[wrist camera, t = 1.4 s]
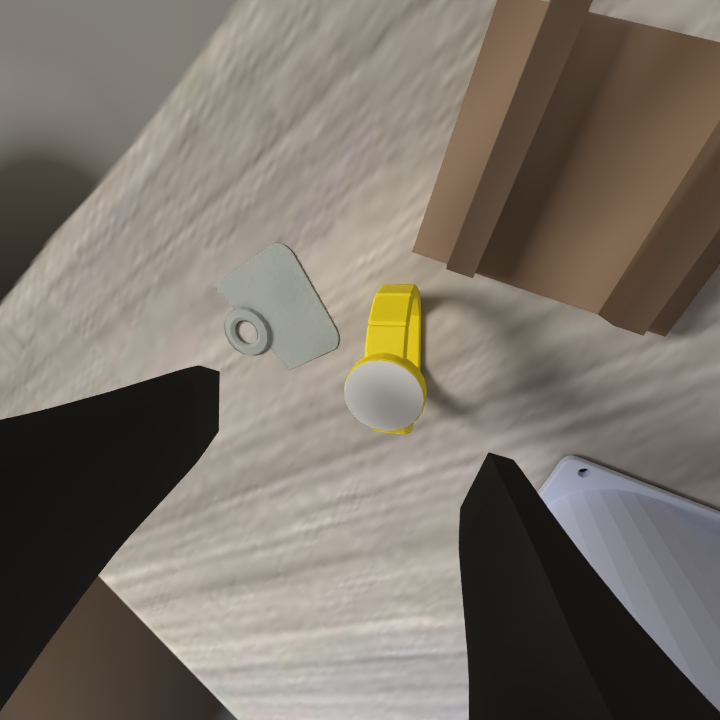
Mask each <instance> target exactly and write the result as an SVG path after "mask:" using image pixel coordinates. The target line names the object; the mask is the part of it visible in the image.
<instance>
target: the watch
mask: <svg viewBox="0 0 720 720" xmlns="http://www.w3.org/2000/svg"><path fill="white" fill-rule="evenodd" d="M368 324H369V326H368V327H367V337H366V348H365V357H363V358H361V359H360V360H359V361H358V362H357V363H356V364H355V365H354V366H353V368H352V369H351V371H350V372H349V374H348V376H347V379H346V381H345V387H344V396H345V400H346V404H347V406H348V408H349V409H350V411H351V413H352V414H353V415H354V416H355V417H356V418H357V419H358V420H359V421H360V422H362V423H363V424H365V425H367V426H369V427H371V428H372V429H373V430H374V431H377V432H387V433H396V434H408V433H410V432H411V430H412V428H413V424H414V422H415V421H416V420H417V419H418V418H419V416H420V415H421V413H422V412H423V409H424V405H425V400H426V394H427V389H426V383H425V379H424V377H423V375H422V373H421V372H420V365H421V362H420V355H421V300H420V292H419V290H418V288H417V286H416V285H415V284H395V285H383V286H382V287H381V288H380V289H379V291H378V292H377V293H376V295H375V297H374V300H373V304H372V308H371V312H370V317H369V321H368Z"/></svg>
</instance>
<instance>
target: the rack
mask: <svg viewBox="0 0 720 720" xmlns="http://www.w3.org/2000/svg"><path fill="white" fill-rule="evenodd" d="M592 1H593V0H550V2H549V3H548V2H544V1H540V0H498V1H497V3H496V6H495V9H494V12H493V15H492V18H491V21H490V24H489V27H488V30H487V33H486V36H485V39H484V42H483V45H482V48H481V51H480V54H479V57H478V60H477V62H476V65H475V68H474V71H473V74H472V77H471V80H470V83H469V86H468V89H467V92H466V95H465V98H464V101H463V104H462V107H461V110H460V113H459V116H458V118H457V121H456V124H455V127H454V130H453V133H452V136H451V139H450V142H449V145H448V148H447V151H446V154H445V157H444V160H443V163H442V166H441V169H440V172H439V175H438V177H437V180H436V183H435V186H434V189H433V192H432V195H431V198H430V201H429V204H428V207H427V210H426V213H425V216H424V219H423V222H422V225H421V228H420V231H419V233H418V236H417V239H416V242H415V245H414V248H413V251H412V252H414V253H417V254H420V255H423V256H426V257H429V258H432V259H435V260H438V261H441V262H444V263H447V268H446V269H448V270H450V271H453V272H456V273H459V274H462V275H465V276H468V277H471V278H473V276H474V274H475V273H477V274H480V275H483V276H485V277H488V278H491V279H494V280H497V281H500V282H503V283H506V284H509V285H512V286H515V287H518V288H521V289H524V290H527V291H530V292H533V293H536V294H539V295H542V296H545V297H548V298H551V299H554V300H557V301H560V302H563V303H566V304H569V305H572V306H575V307H578V308H581V309H584V310H587V311H590V312H593V313H596V314H598V315H600V316H601V317H603V318H604V319H605V320H607V321H608V322H609V323H611V324H612V325H614V326H617V327H620V328H623V329H626V330H629V331H632V332H635V333H638V334H640V335H644V334H645V332H646V331H650V332H653V333H656V334H659V335H662V336H666V335H667V334H668V332H669V331H670V330H671V328H672V327H673V326H674V324H675V323H676V322H677V320H678V319H679V318H680V316H681V315H682V314H683V312H684V311H685V310H686V308H687V307H688V306H689V304H690V303H691V302H692V300H693V299H694V298H695V296H696V295H697V294H698V292H699V291H700V290H701V288H702V287H703V286H704V284H705V283H706V282H707V280H708V279H709V278H710V276H711V275H712V274H713V272H714V271H715V269H716V268H717V267H718V265H719V264H720V42H716V41H711V40H707V39H703V38H698V37H694V36H690V35H686V34H681V33H677V32H673V31H668V30H664V29H660V28H656V27H651V26H647V25H643V24H638V23H634V22H630V21H626V20H621V19H617V18H613V17H608V16H604V15H600V14H596V13H591V12H588V10H589V8H590V5H591V3H592Z"/></svg>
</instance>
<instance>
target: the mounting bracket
mask: <svg viewBox="0 0 720 720" xmlns="http://www.w3.org/2000/svg"><path fill="white" fill-rule="evenodd" d="M213 286H214V287H215V288H216V289H217V291H218V292H219V293H220V294H221V295H222V296H223V297H224V298H225V299H226V301H227V302H228V303H229V304H230V305H231V306H232V307H233V308H234V309H233V310H232V311H231V312H230V313H229V314H228V315H227V317H226V320H225V323H224V328H225V335H226V337H227V339H228V341H229V343H230V344H231V345H232V346H233V347H234V348H235V349H236V350H237V351H239V352H241V353H242V354H247V355H257V354H261V353H263V352H264V351H265V350H266V349H267V348H268V347H269V348H270V349H271V350H272V352H273V353H274V354H275V355H276V356H277V357H278V358H279V359H280V360H281V362H282V363H283V364H284V365H285V366H286V367H287V368H288V369H289V370H291V369H293V368H295V367H297V366H299V365H302V364H304V363H306V362H308V361H310V360H312V359H315V358H317V357H319V356H321V355H323V354H325V353H327V352H330V351H332V350H334V349H336V348H337V345H338V342H339V336H338V332H337V329H336V327H335V325H334V324H333V322H332V320H331V318H330V317H329V315H328V313H327V311H326V309H325V308H324V306H323V304H322V302H321V301H320V299H319V297H318V295H317V294H316V292H315V290H314V288H313V287H312V285H311V283H310V281H309V279H308V278H307V276H306V274H305V272H304V271H303V269H302V267H301V265H300V264H299V262H298V260H297V258H296V257H295V255H294V254H293V252H292V251H291V250H290V249H289V248H288V247H287V246H285V245H283V244H281V243H274V244H272V245H271V246H269V247H268V248H266V249H265V250H263V251H262V252H260V253H259V254H257V255H256V256H255V257H253V258H252V259H250V260H249V261H247V262H246V263H244V264H243V265H241V266H240V267H238V268H237V269H236V270H234V271H233V272H231V273H230V274H228V275H227V276H225V277H224V278H222V279H221V280H219V281H218V282H217V283H215V284H214V285H213ZM242 320H244V321H245V322H250V323H252V324H253V326H254V327H255V328H256V331H257V339H256V341H255V342H254V343H252V344H249V343H246V342H244V341H242V340H241V339H240V338H239V336H238V334H237V330H236V327H237V323H238V322H239V321H242Z"/></svg>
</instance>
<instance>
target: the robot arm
mask: <svg viewBox="0 0 720 720" xmlns="http://www.w3.org/2000/svg"><path fill="white" fill-rule="evenodd" d="M219 375H220V372H219V371H216V370H212V369H209V368H206V367H202V366H199V365H198V366H194V367H189V368H186V369H182V370H179V371H175V372H172V373H169V374H165V375H162V376H159V377H156V378H152V379H149V380H146V381H143V382H140V383H136V384H133V385H130V386H127V387H123V388H120V389H117V390H114V391H110V392H107V393H103V394H100V395H96V396H93V397H89V398H85V399H82V400H78V401H75V402H71V403H67V404H64V405H60V406H56V407H53V408H49V409H45V410H41V411H37V412H33V413H29V414H24V415H20V416H16V417H11V418H6V419H2V420H0V711H1V709H2V708H3V706H4V705H5V704H6V702H7V701H8V699H9V698H10V696H11V695H12V693H13V692H14V691H15V689H16V688H17V686H18V685H19V684H20V682H21V681H22V679H23V678H24V676H25V675H26V674H27V672H28V671H29V669H30V668H31V666H32V665H33V663H34V662H35V660H36V659H37V658H38V656H39V655H40V653H41V652H42V651H43V649H44V648H45V646H46V645H47V643H48V642H49V641H50V639H51V638H52V636H53V635H54V634H55V633H56V631H57V630H58V628H59V627H60V626H61V624H62V623H63V622H64V620H65V619H66V618H67V616H68V615H69V613H70V612H71V611H72V609H73V608H74V607H75V605H76V604H77V603H78V601H79V600H80V598H81V597H82V596H83V594H84V593H85V592H86V591H87V589H88V588H89V586H90V585H91V584H92V583H93V581H94V580H95V579H96V577H97V576H98V575H99V574H100V572H101V571H102V570H103V568H104V567H105V566H106V564H107V563H108V562H109V561H110V559H111V558H112V557H113V555H114V554H115V553H116V552H117V551H118V549H119V548H120V547H121V546H122V545H123V543H124V542H125V541H126V540H127V539H128V538H129V536H130V535H131V534H132V533H133V532H134V531H135V530H136V529H137V528H138V526H139V525H140V524H141V523H142V522H143V521H144V520H145V519H146V518H147V517H148V516H149V514H150V513H151V512H152V511H153V510H154V509H155V508H156V507H157V506H158V505H159V504H160V502H161V501H162V500H163V499H164V498H165V497H166V496H167V495H168V494H169V493H170V492H171V490H172V489H173V488H174V487H175V486H176V485H177V484H178V483H179V482H180V481H181V479H182V478H183V477H184V476H185V475H186V474H187V473H188V472H189V471H190V469H191V468H192V467H193V466H194V465H195V464H196V463H197V461H198V460H199V459H200V457H201V456H202V454H203V453H204V452H205V450H206V449H207V448H208V446H209V445H210V443H211V442H212V440H213V439H214V437H215V436H216V434H217V433H218V431H219ZM584 468H585V469H587V470H586V471H584V472H578V471H579V470H580V469H584ZM459 558H460V571H461V584H462V595H463V607H464V619H465V630H466V642H467V654H468V673H469V720H720V511H717V510H714V509H712V508H709V507H707V506H704V505H701V504H699V503H696V502H694V501H691V500H688V499H686V498H683V497H681V496H678V495H676V494H673V493H670V492H668V491H665V490H663V489H660V488H657V487H655V486H652V485H650V484H647V483H644V482H642V481H639V480H637V479H634V478H631V477H629V476H626V475H624V474H621V473H618V472H616V471H613V470H611V469H608V468H606V467H603V466H600V465H598V464H595V463H593V462H590V461H587V460H585V459H582V458H580V457H577V456H567V457H564V458H563V459H562V460H561V461H560V462H559V464H558V465H557V466H556V468H555V469H554V471H553V472H552V473H551V475H550V476H549V477H548V479H547V480H546V482H545V483H544V484H543V486H542V487H541V488H540V490H539V491H538V493H537V491H536V490H535V489H534V487H533V486H532V484H531V483H530V482H529V480H528V479H527V477H526V476H525V475H524V473H523V472H522V470H521V469H520V468H519V466H518V465H517V464H516V463H515V461H514V460H513V459H509V458H506V457H503V456H499V455H496V454H493V453H489V452H488V454H487V456H486V458H485V460H484V462H483V464H482V466H481V468H480V470H479V472H478V474H477V476H476V478H475V480H474V482H473V484H472V486H471V488H470V490H469V492H468V494H467V496H466V498H465V500H464V502H463V504H462V506H461V507H460V525H459Z"/></svg>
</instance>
